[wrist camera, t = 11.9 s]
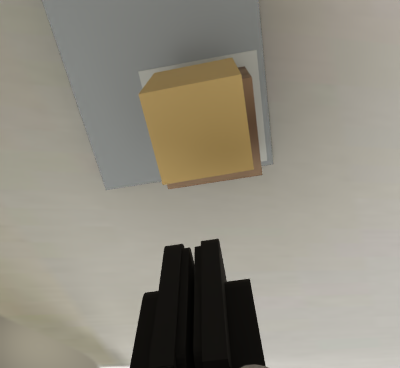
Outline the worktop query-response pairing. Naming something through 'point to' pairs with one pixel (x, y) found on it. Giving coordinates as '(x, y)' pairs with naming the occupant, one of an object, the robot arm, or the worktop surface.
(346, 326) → the worktop surface
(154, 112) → the ochre block
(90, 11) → the plate
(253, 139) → the walnut block
